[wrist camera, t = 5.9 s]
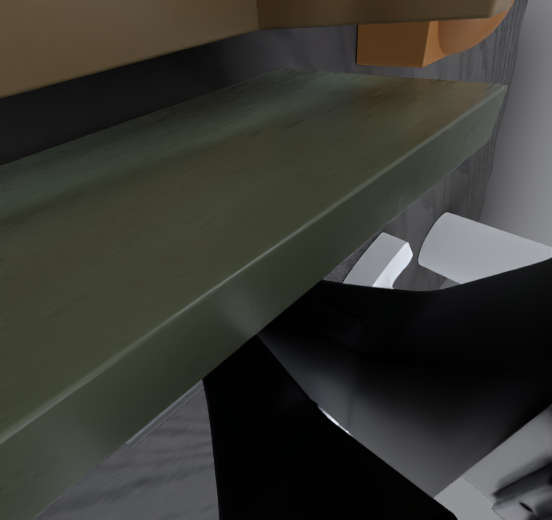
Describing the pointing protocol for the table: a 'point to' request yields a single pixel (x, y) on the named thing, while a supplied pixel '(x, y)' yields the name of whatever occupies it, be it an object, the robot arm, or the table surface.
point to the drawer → (190, 213)
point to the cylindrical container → (476, 250)
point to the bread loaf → (420, 40)
